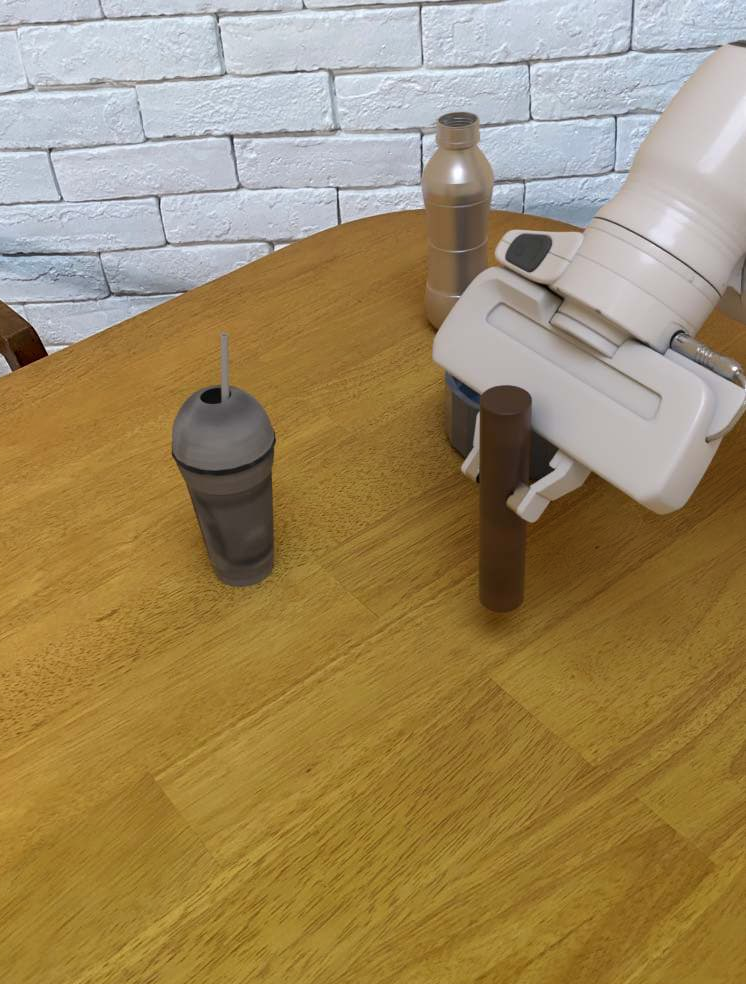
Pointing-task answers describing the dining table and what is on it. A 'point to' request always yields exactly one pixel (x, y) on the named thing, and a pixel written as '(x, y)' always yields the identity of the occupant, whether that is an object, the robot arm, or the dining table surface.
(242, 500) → the beverage cup
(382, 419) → the dining table surface
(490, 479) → the stick
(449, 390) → the bowl
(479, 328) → the robot arm
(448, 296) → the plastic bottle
